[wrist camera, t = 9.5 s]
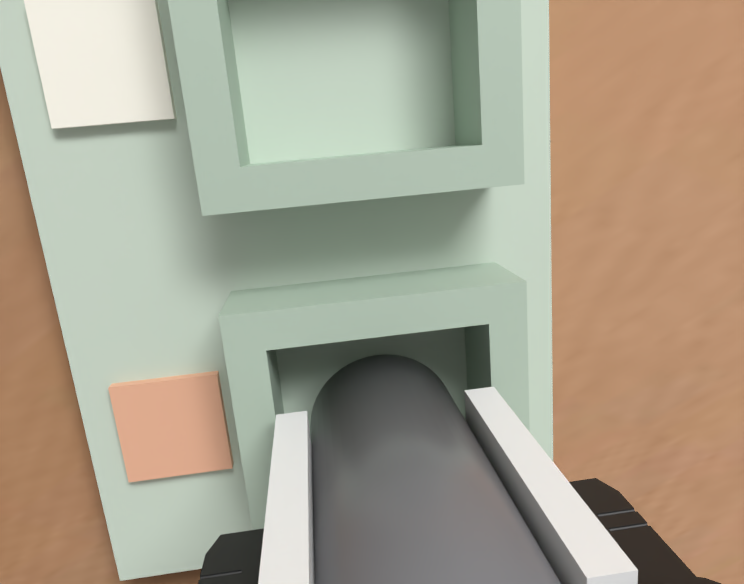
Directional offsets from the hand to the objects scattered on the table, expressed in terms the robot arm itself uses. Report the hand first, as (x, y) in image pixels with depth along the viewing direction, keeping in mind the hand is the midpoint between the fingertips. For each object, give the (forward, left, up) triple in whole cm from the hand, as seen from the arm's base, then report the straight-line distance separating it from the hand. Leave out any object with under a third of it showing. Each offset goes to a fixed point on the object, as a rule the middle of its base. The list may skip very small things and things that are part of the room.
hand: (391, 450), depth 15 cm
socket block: (-1, +5, -5) cm, 7 cm away
